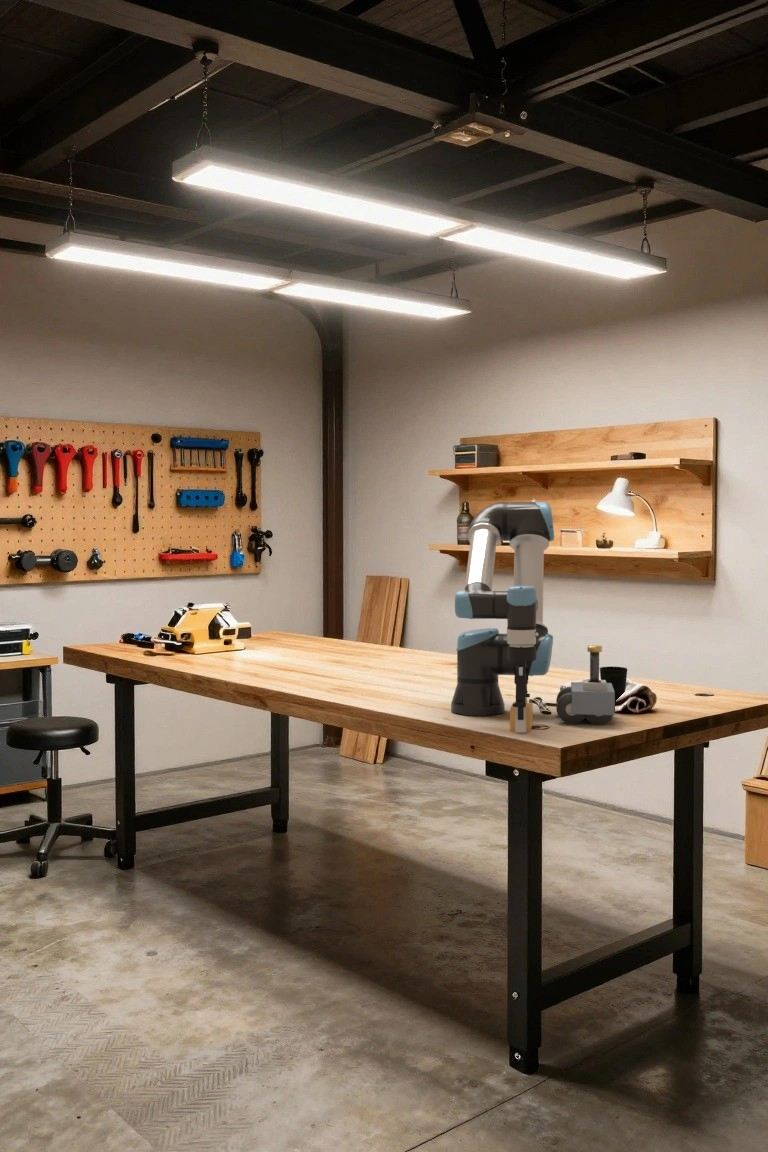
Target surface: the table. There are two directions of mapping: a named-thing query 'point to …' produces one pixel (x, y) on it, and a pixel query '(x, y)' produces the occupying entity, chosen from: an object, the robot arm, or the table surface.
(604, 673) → the cup
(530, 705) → the block
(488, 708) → the robot arm
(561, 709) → the trolley
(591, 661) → the pin
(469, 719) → the table surface
